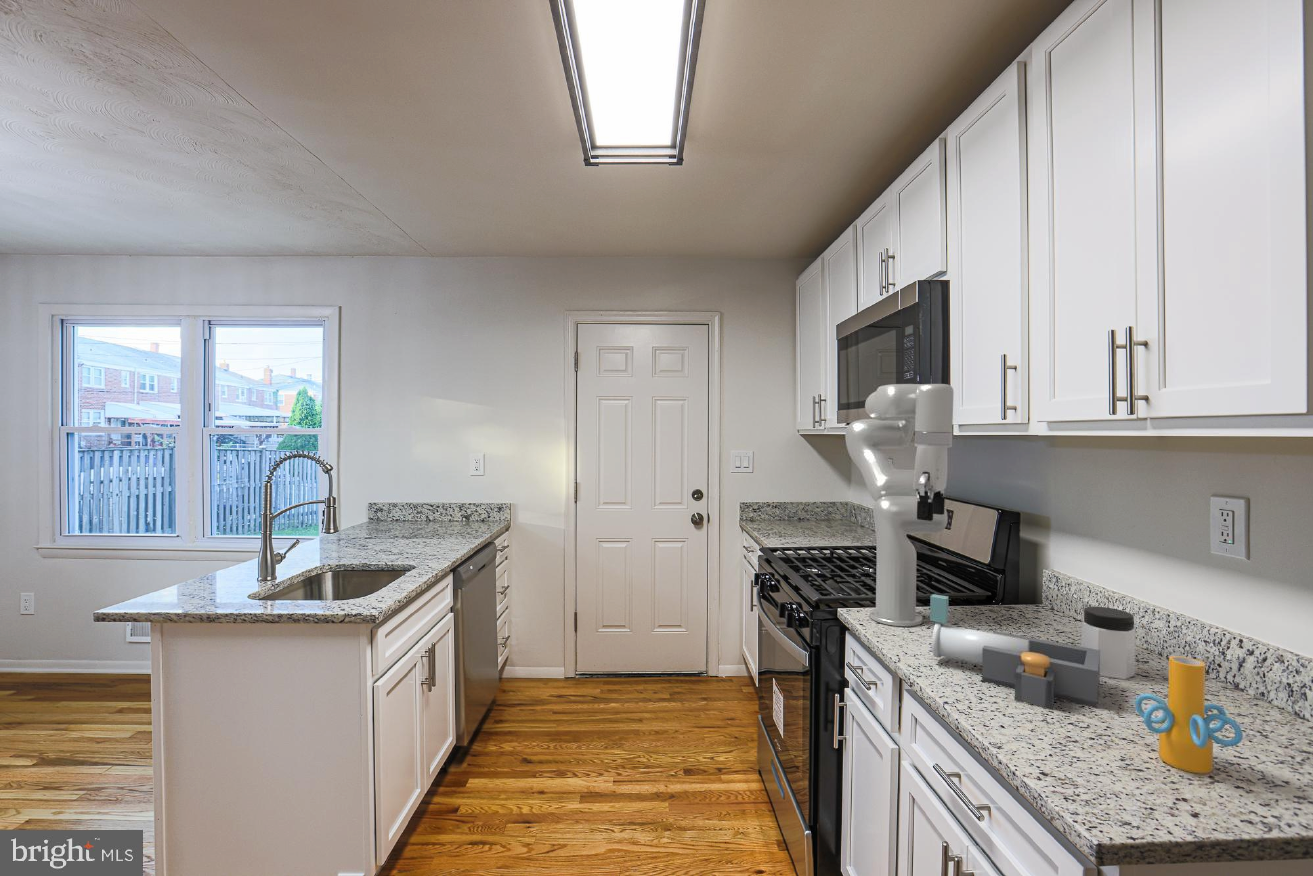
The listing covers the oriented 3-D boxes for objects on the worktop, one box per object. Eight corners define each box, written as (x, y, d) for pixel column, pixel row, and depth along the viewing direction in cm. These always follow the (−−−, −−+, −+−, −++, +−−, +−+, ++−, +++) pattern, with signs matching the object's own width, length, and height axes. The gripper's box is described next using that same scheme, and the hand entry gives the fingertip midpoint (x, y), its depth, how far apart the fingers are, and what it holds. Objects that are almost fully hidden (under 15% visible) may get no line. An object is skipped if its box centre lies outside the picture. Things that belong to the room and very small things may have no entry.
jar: (1122, 683, 119) (1123, 621, 119) (1074, 669, 126) (1075, 610, 125) (1140, 673, 124) (1141, 613, 124) (1094, 660, 130) (1095, 604, 130)
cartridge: (935, 650, 133) (936, 592, 133) (1029, 669, 123) (1030, 606, 122) (926, 659, 128) (927, 599, 127) (1024, 681, 117) (1025, 615, 117)
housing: (993, 662, 129) (994, 631, 129) (1099, 684, 118) (1100, 650, 118) (976, 691, 114) (976, 656, 114) (1095, 719, 103) (1096, 681, 103)
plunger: (1022, 686, 114) (1022, 650, 114) (1050, 692, 111) (1051, 655, 111) (1019, 694, 111) (1019, 657, 111) (1047, 701, 108) (1048, 663, 108)
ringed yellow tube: (1251, 771, 88) (1253, 666, 88) (1231, 795, 82) (1233, 683, 82) (1146, 736, 98) (1148, 642, 98) (1121, 755, 92) (1123, 655, 92)
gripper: (925, 438, 145) (923, 510, 146) (903, 441, 132) (901, 520, 133) (960, 439, 141) (958, 513, 142) (941, 442, 127) (938, 524, 128)
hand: (930, 516), depth 137 cm, fingers open, 9 cm apart
